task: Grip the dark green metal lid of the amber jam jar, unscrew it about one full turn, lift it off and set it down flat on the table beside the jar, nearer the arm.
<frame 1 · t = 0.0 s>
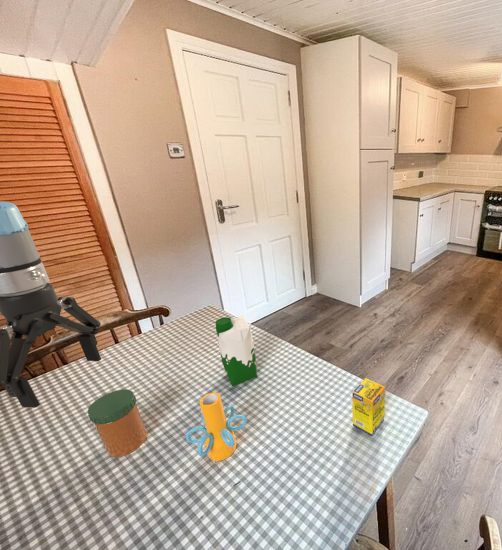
hand: (66, 380, 63), 19 cm above the table, tool pointing down, fingers open, 13 cm apart
supplement box: (368, 423, 76), on the table
jar lid: (111, 403, 67), point 12 cm above the table, screwed on, not yet turned
orange vase: (222, 450, 70), on the table
jar: (127, 442, 71), on the table
milk carton: (242, 375, 93), on the table
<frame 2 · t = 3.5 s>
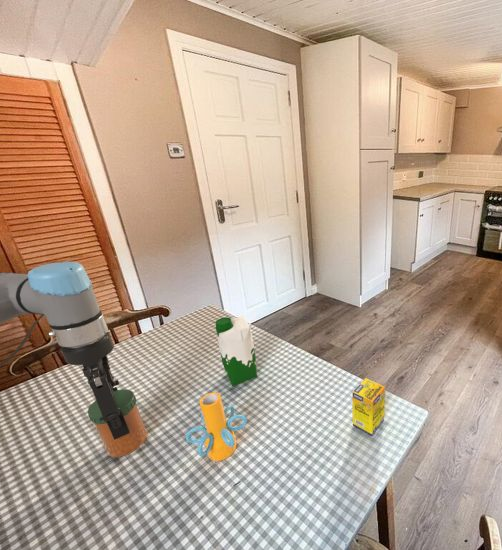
hand: (119, 422, 69), 6 cm above the table, tool pointing down, fingers closed on jar lid, 8 cm apart
jar lid: (111, 403, 67), point 12 cm above the table, screwed on, not yet turned, touching gripper
everything else where it was.
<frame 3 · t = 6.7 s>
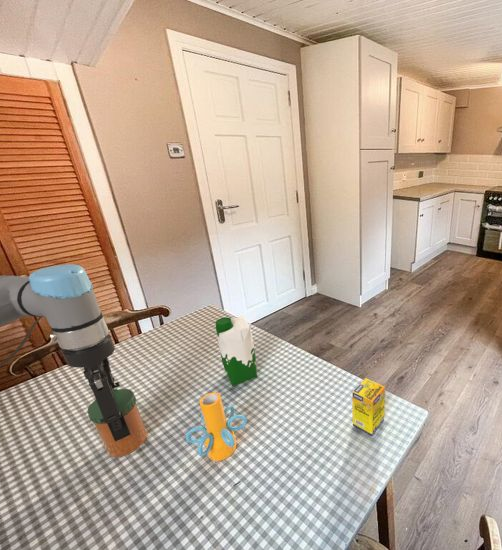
hand: (120, 424, 69), 6 cm above the table, tool pointing down, fingers closed on jar lid, 8 cm apart
jar lid: (111, 403, 67), point 12 cm above the table, turned 108° so far, risen 0.1 cm, still on its thread, touching gripper
everything else where it was.
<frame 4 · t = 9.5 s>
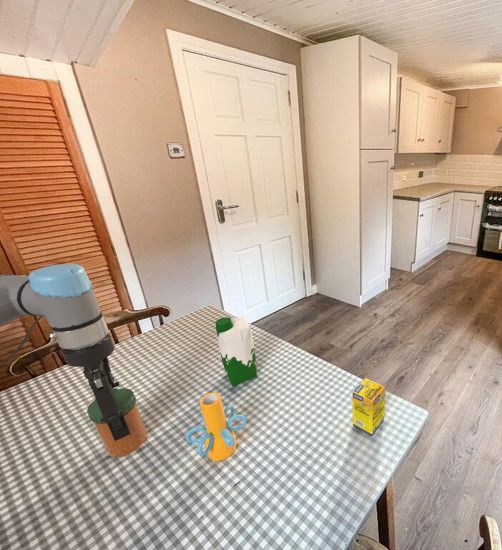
hand: (120, 424, 69), 6 cm above the table, tool pointing down, fingers closed on jar lid, 8 cm apart
jar lid: (111, 402, 67), point 12 cm above the table, turned 216° so far, risen 0.3 cm, still on its thread, touching gripper
everything else where it was.
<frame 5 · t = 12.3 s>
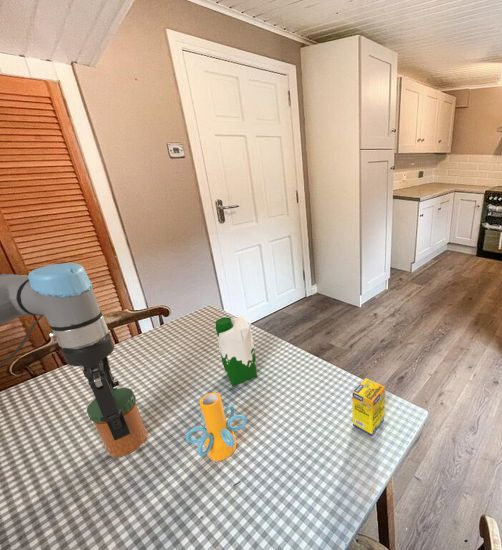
hand: (120, 423, 69), 6 cm above the table, tool pointing down, fingers closed on jar lid, 8 cm apart
jar lid: (111, 402, 67), point 12 cm above the table, turned 323° so far, risen 0.4 cm, still on its thread, touching gripper
everything else where it was.
when the fingers open (0 cm above the table, at t = 20.8 s): jar lid drops 5 cm, point 2 cm above the table.
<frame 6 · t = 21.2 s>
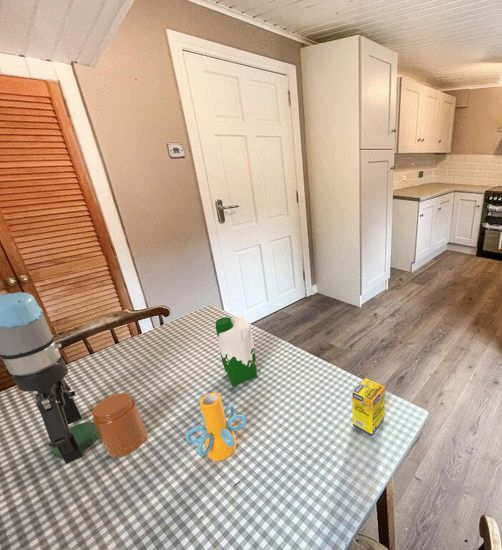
hand: (74, 439, 71), 1 cm above the table, tool pointing down, fingers open, 13 cm apart
jar lid: (74, 437, 71), point 2 cm above the table, off its thread
everything else where it was.
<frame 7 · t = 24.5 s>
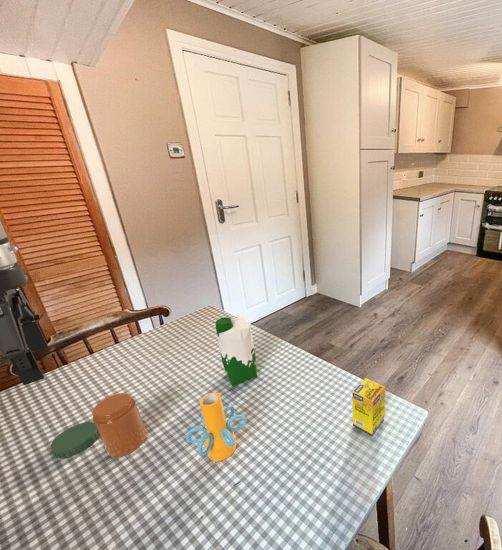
hand: (37, 364, 63), 23 cm above the table, tool pointing down, fingers open, 13 cm apart
nothing on the table moved.
at the end: jar lid came off its thread; jar lid point 1.7 cm above the table; the gripper is holding nothing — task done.
